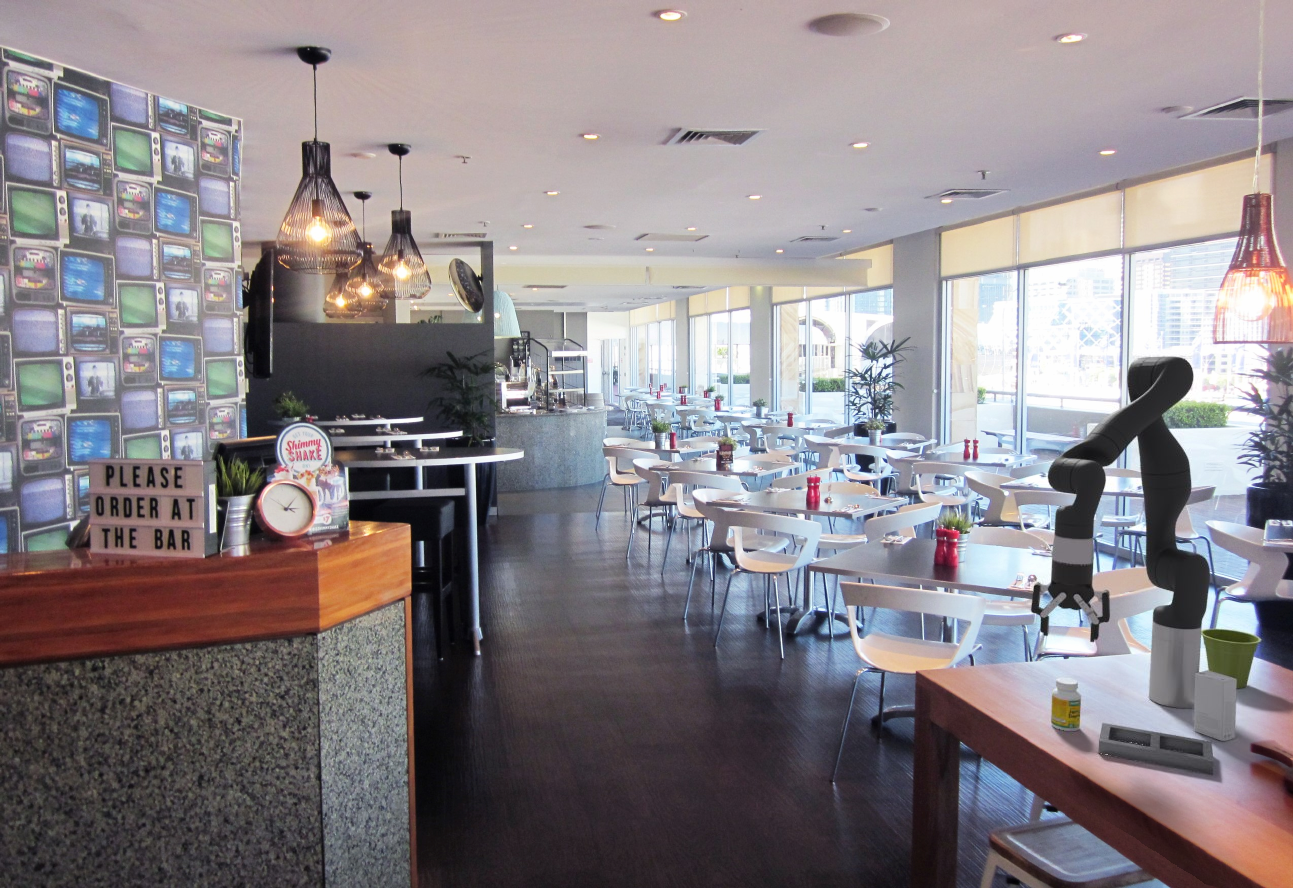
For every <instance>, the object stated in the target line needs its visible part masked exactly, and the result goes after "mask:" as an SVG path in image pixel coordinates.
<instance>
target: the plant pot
mask: <svg viewBox="0 0 1293 888" xmlns="http://www.w3.org/2000/svg"><path fill="white" fill-rule="evenodd" d="M1201 637H1202V638H1203V639H1202V640H1203V644H1204V647H1205V654H1206V655H1205V656H1206V663H1207V668H1208V669H1207V670H1209V671H1212V672H1215V673H1218V674H1222V675H1225V676H1228V677H1232V678H1235V679H1237V685H1236V689H1241V688H1245V687H1247V685H1248V683H1249V682H1248V680H1249V677H1250V673H1251V669H1252V665H1253V661H1254V657H1255V653H1256V652H1257V649H1258V645H1259V644H1260V643H1261V642H1262V639H1261V638H1260V637H1259V636H1257V635H1255V634H1252V633H1249V632H1245V631H1240V630H1234V629H1224V628H1206V629H1201Z"/></svg>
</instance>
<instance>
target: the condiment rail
mask: <svg viewBox="0 0 1293 888" xmlns="http://www.w3.org/2000/svg"><path fill="white" fill-rule="evenodd" d="M1099 734H1100V735H1099V739H1098V752H1099V753H1102V754H1101V755H1103V754H1108V755H1111V756H1110V757H1114V756H1117V757H1116V758H1119V757H1122V758H1121V759H1124V758H1126V760H1130V759H1131V761H1135V760H1136V761H1137V762H1140V761H1141V762H1142V763H1146V764H1151V765H1157V766H1162V767H1169V768H1173V769H1179V770H1182V771H1183V770H1184V771H1189V772H1195V773H1200V774H1206V775H1210V776H1213V775H1214V754H1213V753H1214V752H1213V744H1212V741H1209V740H1204V739H1200V738H1199V739H1198V738H1194V737H1187V736H1182V735H1176V734H1175V735H1174V734H1168V733H1164V732H1158V731H1152V730H1147V729H1139V728H1134V727H1130V726H1124V725H1117V724H1111V723H1105V722H1102V723H1101V727H1100V733H1099ZM1111 739H1114V740H1111ZM1117 740H1120V741H1117ZM1123 741H1126V742H1123ZM1128 742H1132V743H1128ZM1134 743H1137V744H1134ZM1139 744H1143V745H1139ZM1145 745H1147V746H1145ZM1098 752H1097V753H1098ZM1184 752H1185V753H1184ZM1189 753H1190V754H1189ZM1108 755H1107V756H1108Z"/></svg>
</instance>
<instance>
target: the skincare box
mask: <svg viewBox="0 0 1293 888" xmlns="http://www.w3.org/2000/svg"><path fill="white" fill-rule="evenodd" d="M1236 685H1237V679H1235V678H1232V677H1228V676H1225V675H1222V674H1218V673H1215V672H1212V671H1209V670H1208V669H1207V670H1204V671H1203V670H1202V671H1199V673H1195V707H1193V708H1194V709H1193V710H1194V716H1193V717H1194V718H1193V719H1194V720H1193V731H1194V732H1196V733H1200V734H1202V735H1204V736H1207V737H1210V738H1212V739H1215V740H1218V741H1221V742H1227V741H1230V740H1234V739H1235V738H1236V721H1237V720H1236V718H1237V717H1236V716H1237V714H1236V713H1237V688H1236Z"/></svg>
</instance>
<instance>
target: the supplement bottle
mask: <svg viewBox="0 0 1293 888" xmlns="http://www.w3.org/2000/svg"><path fill="white" fill-rule="evenodd" d="M1055 686H1056V687H1055V688H1053V690H1052V692H1051V714H1050V724H1051V726H1052V727H1053V728H1054V727H1055V728H1054V729H1056V730H1059V729H1060V730H1059V731H1063V730H1064V732H1075V731H1078V730H1080V728H1081V727H1080V724H1081V709H1082V708H1081V704H1082V703H1081V701H1082V695H1081V693H1080V692H1079V690H1078V687H1079V683H1078V681H1077V679H1076V680H1075V679H1074V678H1070V677H1058V678H1056V679H1055Z"/></svg>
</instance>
